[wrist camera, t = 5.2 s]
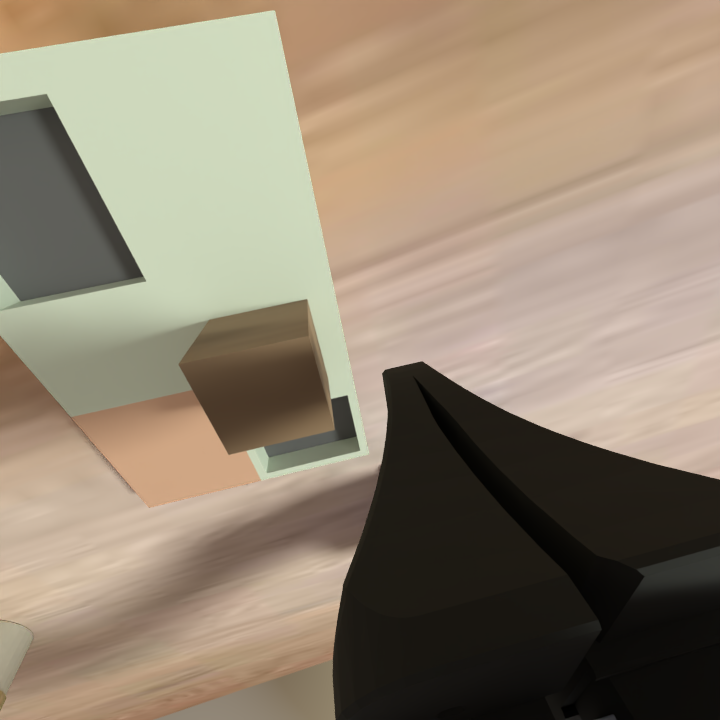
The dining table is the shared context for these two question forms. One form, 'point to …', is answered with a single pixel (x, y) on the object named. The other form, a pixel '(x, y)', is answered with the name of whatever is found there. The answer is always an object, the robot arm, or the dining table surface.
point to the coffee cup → (11, 653)
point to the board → (160, 239)
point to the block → (261, 377)
